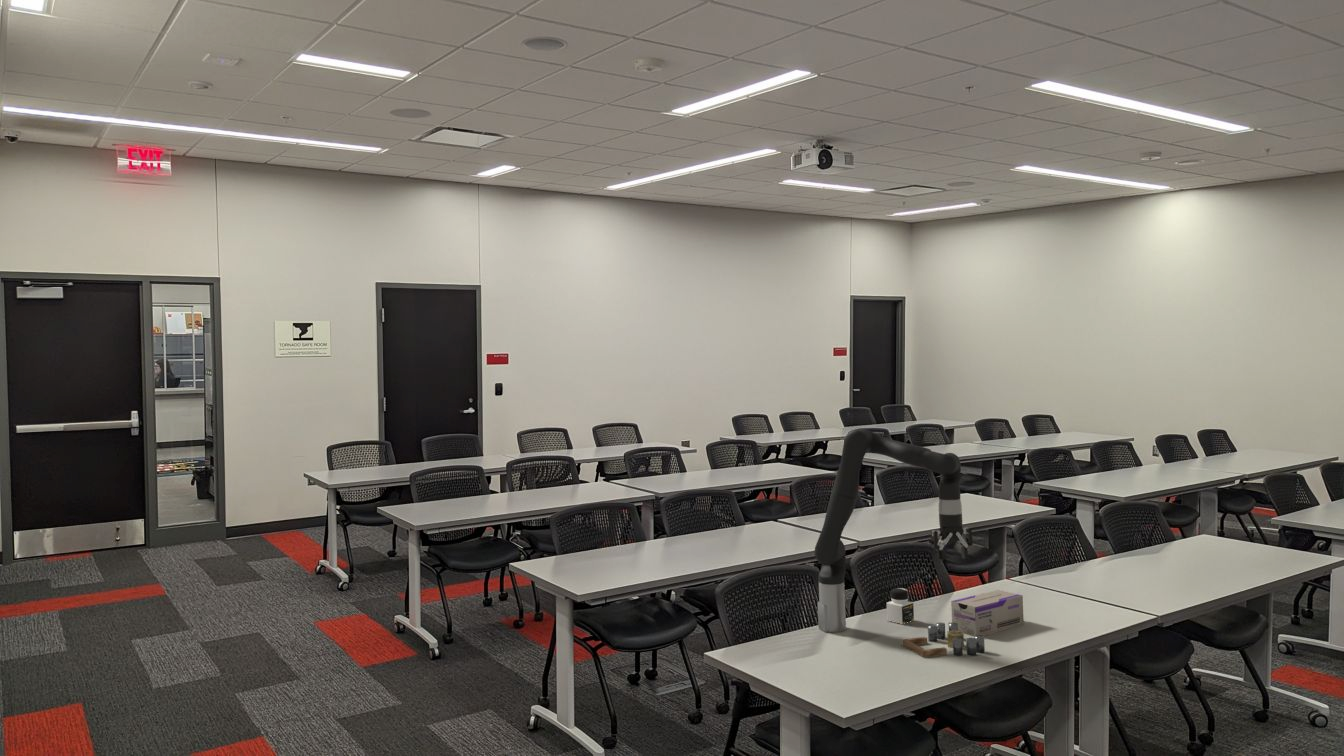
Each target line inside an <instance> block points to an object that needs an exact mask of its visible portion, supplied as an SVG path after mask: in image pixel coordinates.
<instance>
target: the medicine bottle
mask: <svg viewBox="0 0 1344 756" xmlns="http://www.w3.org/2000/svg"><path fill="white" fill-rule="evenodd" d="M890 593H891V601H888V602H886V621H887V622H888V621H892V622H897V623H900V624H899V625H901V624H904V623H907V622H910V621H913V620H914V621H915V615H914V614H915V613H914V612H915V609H914V602H913V601H909V590H908V589H905V588H902V587H898V588H897V587H896V588H893V589H891V591H890ZM914 621H913V622H914ZM892 622H891V623H892ZM897 623H896V624H897ZM910 623H911V622H910ZM907 624H908V623H907ZM904 625H905V624H904Z"/></svg>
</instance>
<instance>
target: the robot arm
mask: <svg viewBox="0 0 1344 756" xmlns="http://www.w3.org/2000/svg"><path fill="white" fill-rule="evenodd" d="M866 454H876V455H882V456H886V457H889V458H892V459H894V460H895V461H899V462H901V463H903V464H906V465H910V466H914V467H916V468H917V467H918V468H923V469H926V470H929V471H931V472H934V473H936V474H939V475H940V479H939V480H940V481H939V483H938V519H939V521H938V522H939V530H934V529H932V530H931V531H930V547H931V548H933V549H936V558H937V559H938V560H939V562H943V561H944V547H945V546H946V545H947V544H948V543H952V542H954V543H959V545H960V554H961V559H963V560H966V559H967V557H968V556H969V554H968V547H970V546H973V544H974V542H973V541H974V540H973V532H972V528H971V527H967V526H965V527H964V528H963V509H962V508H963V507H962V501H961V486H960V483H961V482H960V481H961V468H962V467H961V466H962V465H961V460H960V458H959V457H958V455H957V454H956V453H953V452H946V453H941V452H937V451H932V449H930V448H927V447H923V446H920V445H916V444H911V443H908V442H902V441H899V440H895V439H891V438H888V437H886V436H882V435H879V434H878V433H875V432H873V431H871V430H868V429H867V428H856V429H852V430H850V431H849V432H848V433H846V435H845V437H844V441H843V446H842V452H841V459H840V464H839V467H838V470H837V473H836V476H835V480H834V483H833V486H832V491H831V492H830V497H829V500H828V501H829V502H828V506H827V509H826V513H825V517H824V522H823V525H822V529H821V531H820V533H819V536H818V539H817V541H816V545H815V547H814V557H815V559H816V561H817V562H818V563H819V564H820V565H821V568H820V571H819V574H818V592H819V593H818V598H819V601H817V619H818V620H817V623H818V629H820V630H821V629H822V631H823V632H824V633H827V632H828V631H829V633H839V631H840V632H843V631H846V630H847V621H846V619H847V618H846V615H847V614H846V597H845V591H846V590H845V576H846V569H847V567H846V564H847V561H846V559H847V558H846V554H847V553H846V548H845V544H844V542H843V541H842V540H841V538H842V534H843V531H844V529H845V527H846V525H847V523H848V522H849V520H850V518H851V516H852V514H853V512H854V509H855V507H856V504H857V500H858V496H859V490H860V470H861V468H862V467H861V466H862V463H863V460H864V458H865V456H866ZM963 534H964V538H965V539H964V538H963ZM939 537H940V538H939ZM938 538H939V539H938Z"/></svg>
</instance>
